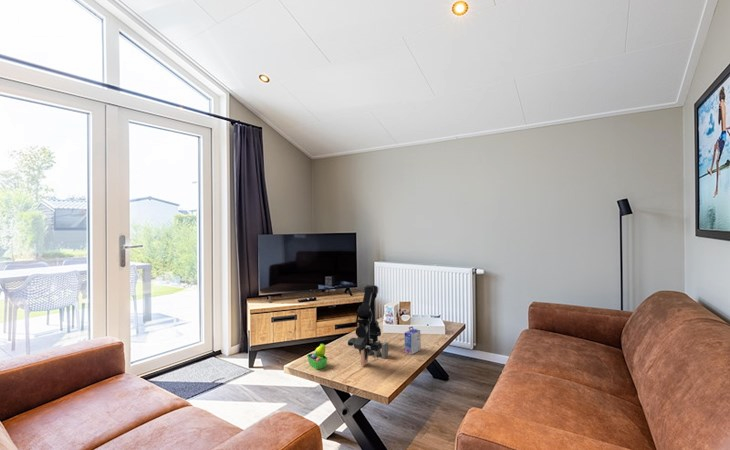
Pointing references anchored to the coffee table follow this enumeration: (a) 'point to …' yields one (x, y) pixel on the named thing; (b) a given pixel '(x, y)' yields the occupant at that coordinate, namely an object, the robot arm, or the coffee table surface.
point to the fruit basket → (318, 357)
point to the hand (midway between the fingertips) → (364, 359)
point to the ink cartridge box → (412, 341)
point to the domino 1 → (363, 357)
